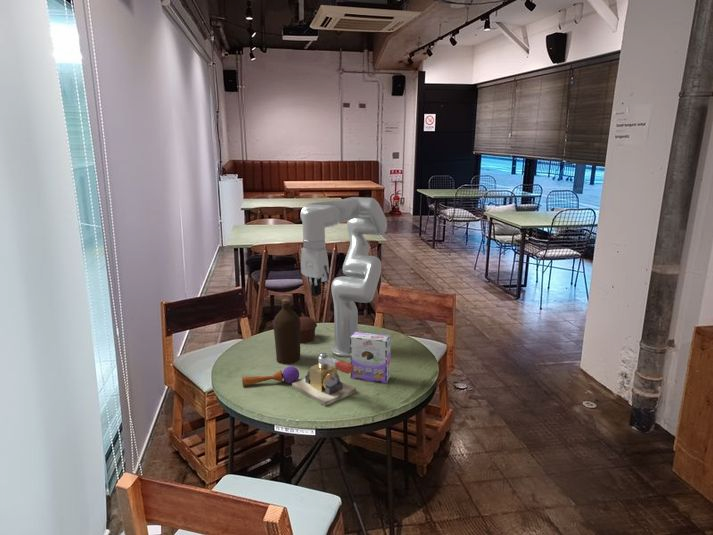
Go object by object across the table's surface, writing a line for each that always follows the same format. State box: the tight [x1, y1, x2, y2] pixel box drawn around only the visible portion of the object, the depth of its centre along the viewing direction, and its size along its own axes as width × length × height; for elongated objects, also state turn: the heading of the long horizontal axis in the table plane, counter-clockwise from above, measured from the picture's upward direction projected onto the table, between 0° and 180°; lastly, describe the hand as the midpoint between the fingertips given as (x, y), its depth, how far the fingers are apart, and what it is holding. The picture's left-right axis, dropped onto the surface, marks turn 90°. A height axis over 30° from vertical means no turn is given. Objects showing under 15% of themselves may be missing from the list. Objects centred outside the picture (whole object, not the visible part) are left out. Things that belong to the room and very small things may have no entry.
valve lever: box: [318, 352, 354, 375], centre depth 165 cm, size 14×3×4 cm, turn 48°
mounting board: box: [291, 377, 357, 407], centre depth 171 cm, size 14×18×2 cm
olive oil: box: [272, 297, 301, 365], centre depth 192 cm, size 11×11×25 cm
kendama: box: [241, 365, 300, 387], centre depth 175 cm, size 6×6×20 cm
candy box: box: [349, 331, 391, 384], centre depth 178 cm, size 14×6×16 cm, turn 71°
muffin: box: [299, 316, 318, 345], centre depth 214 cm, size 12×11×10 cm
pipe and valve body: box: [304, 363, 343, 395], centre depth 170 cm, size 7×13×7 cm, turn 44°
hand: (316, 294), depth 174 cm, fingers closed
